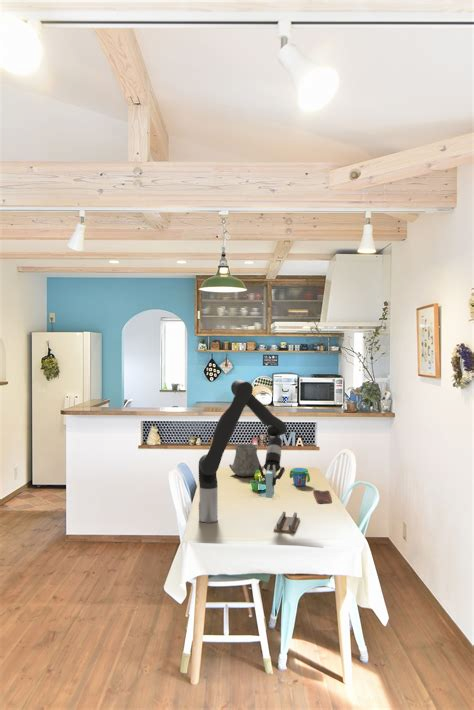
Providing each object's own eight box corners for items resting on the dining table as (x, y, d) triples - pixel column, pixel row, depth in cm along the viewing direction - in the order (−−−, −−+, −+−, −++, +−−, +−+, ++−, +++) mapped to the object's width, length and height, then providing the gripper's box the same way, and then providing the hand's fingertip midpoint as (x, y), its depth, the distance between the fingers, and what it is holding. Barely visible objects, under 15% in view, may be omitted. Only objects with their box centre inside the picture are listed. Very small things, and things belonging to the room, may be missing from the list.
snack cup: (285, 483, 348) (285, 468, 348) (297, 481, 354) (297, 466, 354) (301, 489, 335) (301, 473, 335) (314, 486, 341) (314, 470, 341)
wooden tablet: (333, 502, 304) (315, 500, 305) (332, 506, 304) (315, 503, 305) (329, 490, 331) (313, 487, 332) (329, 493, 331) (312, 491, 332)
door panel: (265, 497, 266) (265, 473, 266) (268, 493, 273) (268, 469, 272) (271, 497, 265) (271, 473, 265) (274, 493, 272) (273, 470, 272)
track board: (273, 531, 260) (273, 523, 260) (280, 518, 280) (280, 511, 280) (294, 533, 258) (294, 525, 258) (299, 519, 277) (299, 512, 277)
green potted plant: (254, 492, 329) (254, 473, 329) (248, 488, 337) (248, 470, 337) (271, 490, 333) (271, 471, 333) (265, 486, 342) (265, 468, 341)
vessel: (231, 470, 383) (231, 442, 383) (262, 471, 380) (262, 443, 380) (226, 478, 362) (226, 448, 361) (259, 479, 359) (259, 449, 358)
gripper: (259, 451, 278) (254, 480, 267) (286, 452, 275) (282, 482, 264) (261, 459, 284) (256, 488, 272) (287, 460, 280) (284, 489, 269)
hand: (269, 485), depth 268 cm, fingers closed on door panel, 3 cm apart
